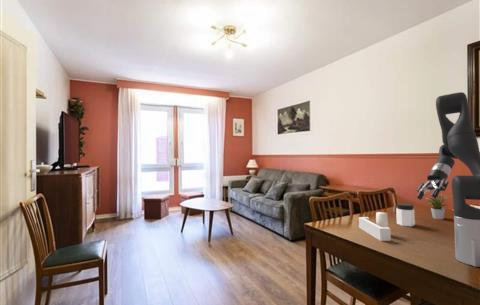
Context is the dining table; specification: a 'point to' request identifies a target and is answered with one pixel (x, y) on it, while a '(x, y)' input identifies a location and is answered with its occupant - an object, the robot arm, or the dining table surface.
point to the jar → (405, 214)
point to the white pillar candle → (381, 219)
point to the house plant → (437, 207)
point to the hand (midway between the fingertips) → (425, 197)
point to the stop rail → (375, 229)
